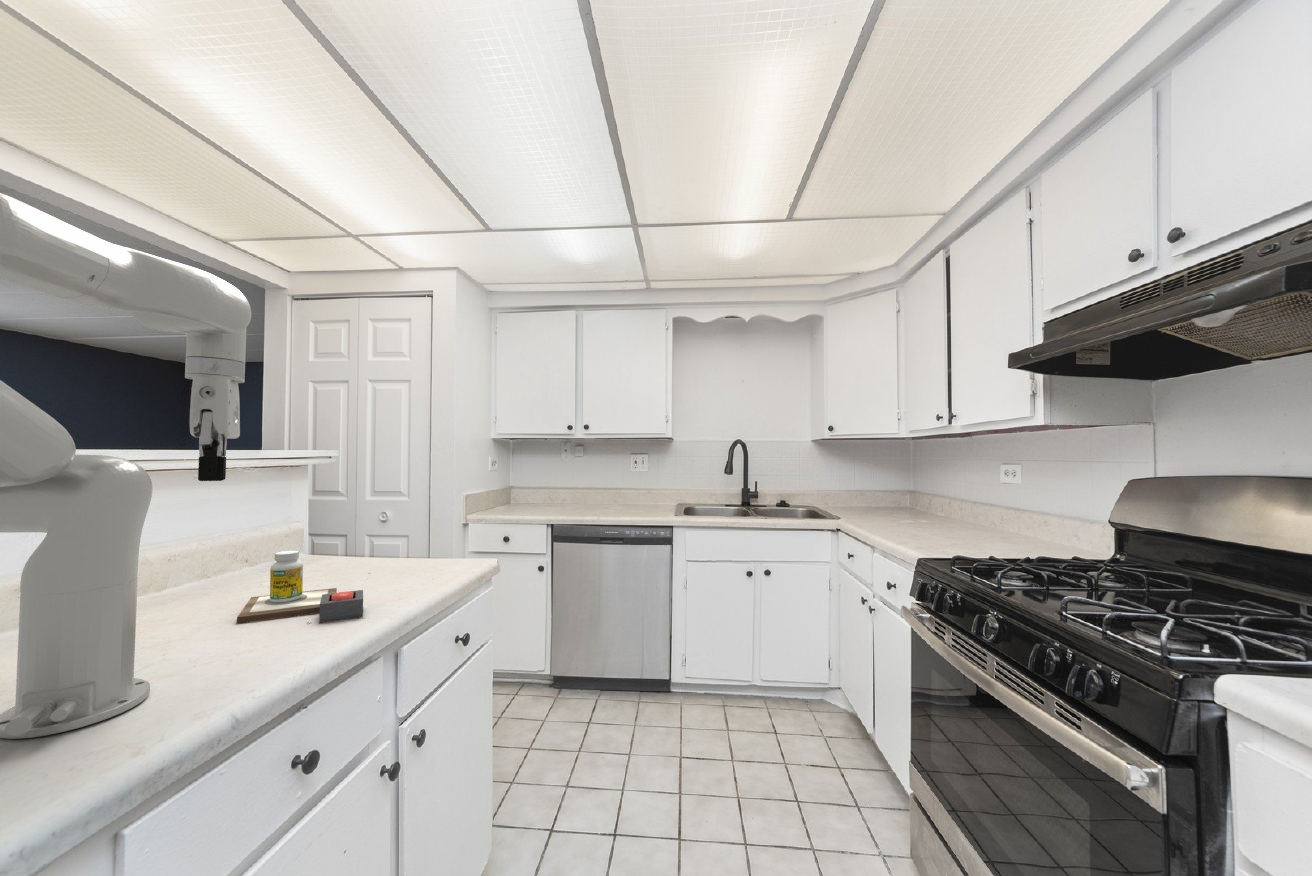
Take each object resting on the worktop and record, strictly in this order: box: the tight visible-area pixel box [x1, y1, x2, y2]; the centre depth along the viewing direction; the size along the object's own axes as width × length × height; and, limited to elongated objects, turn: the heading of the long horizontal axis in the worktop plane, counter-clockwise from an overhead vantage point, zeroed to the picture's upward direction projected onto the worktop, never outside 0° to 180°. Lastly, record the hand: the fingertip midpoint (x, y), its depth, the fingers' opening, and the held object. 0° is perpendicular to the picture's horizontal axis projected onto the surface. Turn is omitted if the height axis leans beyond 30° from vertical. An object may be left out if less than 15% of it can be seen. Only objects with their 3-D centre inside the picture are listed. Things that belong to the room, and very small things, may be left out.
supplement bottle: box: [269, 550, 304, 603], centre depth 102 cm, size 5×5×10 cm
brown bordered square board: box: [236, 587, 338, 624], centre depth 101 cm, size 14×15×2 cm
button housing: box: [318, 589, 364, 624], centre depth 97 cm, size 7×7×4 cm
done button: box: [332, 591, 353, 601], centre depth 97 cm, size 4×4×2 cm
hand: (211, 480), depth 83 cm, fingers closed
